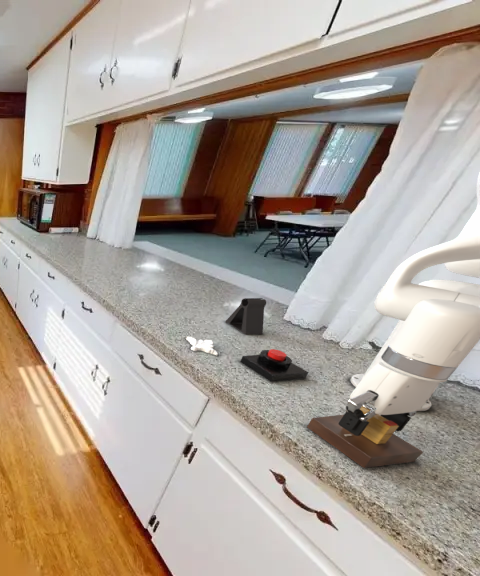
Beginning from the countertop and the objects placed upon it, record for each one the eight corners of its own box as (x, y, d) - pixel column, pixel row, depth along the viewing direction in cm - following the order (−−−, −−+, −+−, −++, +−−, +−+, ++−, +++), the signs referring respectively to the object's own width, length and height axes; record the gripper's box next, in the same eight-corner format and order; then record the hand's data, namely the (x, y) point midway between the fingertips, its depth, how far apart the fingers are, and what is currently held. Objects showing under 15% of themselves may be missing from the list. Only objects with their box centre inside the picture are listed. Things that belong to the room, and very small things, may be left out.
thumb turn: (344, 424, 65) (356, 406, 63) (352, 423, 65) (365, 405, 63) (377, 444, 60) (391, 426, 58) (385, 443, 61) (399, 425, 59)
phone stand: (225, 321, 112) (236, 293, 107) (241, 321, 112) (252, 293, 107) (245, 334, 104) (257, 304, 99) (262, 334, 104) (275, 304, 99)
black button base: (272, 359, 91) (277, 348, 90) (305, 378, 83) (311, 367, 81) (240, 361, 90) (244, 351, 89) (270, 381, 82) (276, 370, 80)
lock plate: (351, 422, 69) (358, 412, 68) (414, 461, 60) (424, 451, 59) (306, 427, 68) (312, 417, 67) (363, 468, 59) (372, 457, 58)
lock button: (274, 353, 88) (277, 348, 87) (287, 360, 85) (290, 355, 84) (263, 354, 88) (266, 349, 87) (276, 361, 84) (279, 356, 84)
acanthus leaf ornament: (185, 339, 102) (187, 334, 101) (209, 343, 100) (211, 338, 99) (191, 351, 96) (193, 346, 95) (217, 355, 93) (219, 350, 92)
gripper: (425, 347, 60) (379, 410, 66) (350, 354, 58) (311, 417, 65) (488, 372, 53) (430, 439, 60) (405, 380, 51) (355, 447, 58)
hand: (368, 427), depth 62 cm, fingers open, 9 cm apart
